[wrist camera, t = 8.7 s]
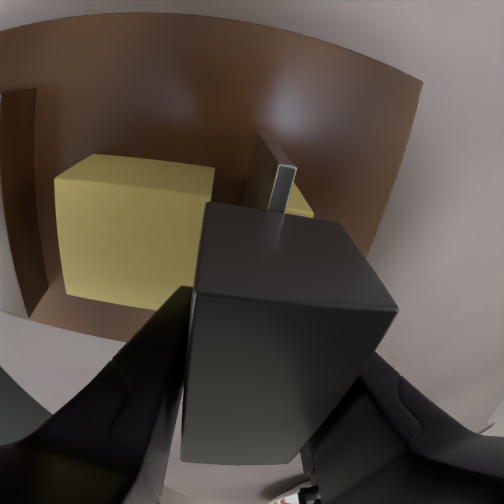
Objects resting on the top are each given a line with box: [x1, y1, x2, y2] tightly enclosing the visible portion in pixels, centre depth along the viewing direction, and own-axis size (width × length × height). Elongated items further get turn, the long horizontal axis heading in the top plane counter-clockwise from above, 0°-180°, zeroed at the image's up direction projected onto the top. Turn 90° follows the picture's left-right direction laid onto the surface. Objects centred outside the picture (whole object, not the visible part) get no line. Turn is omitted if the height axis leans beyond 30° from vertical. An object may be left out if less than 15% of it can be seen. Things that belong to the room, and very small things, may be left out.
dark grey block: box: [180, 130, 399, 465], centre depth 9 cm, size 3×8×8 cm, turn 169°
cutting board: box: [0, 12, 423, 342], centre depth 11 cm, size 22×16×4 cm
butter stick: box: [54, 154, 215, 310], centre depth 11 cm, size 5×4×3 cm
